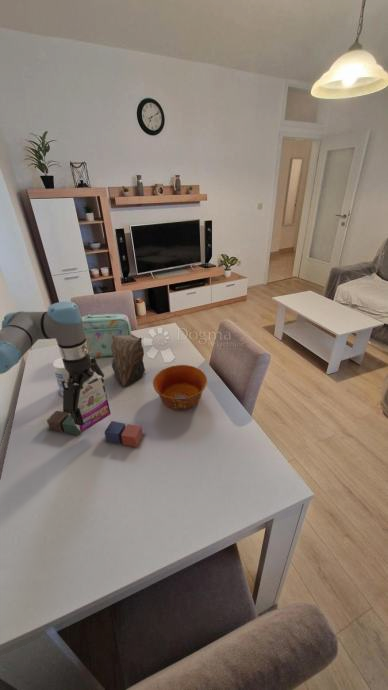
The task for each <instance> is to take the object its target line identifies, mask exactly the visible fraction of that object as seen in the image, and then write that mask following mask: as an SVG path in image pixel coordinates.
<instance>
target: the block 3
mask: <svg viewBox="0 0 388 690" xmlns="http://www.w3.org/2000/svg"><path fill="white" fill-rule="evenodd" d="M126 426H127V425H126V423H124V422H118V421H114V420H111V421H110V423H109V424H108V426H107V427H106V428H105V430H104V436H105V441H106V442H110V443H113V444H118V445H119V444H121V443H122V437H121V435H122V433H123V431H124V430H125V428H126Z"/></svg>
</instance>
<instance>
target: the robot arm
mask: <svg viewBox="0 0 388 690" xmlns="http://www.w3.org/2000/svg"><path fill="white" fill-rule="evenodd" d="M82 317H83V316H82V315H81V312H80V308H79V306H78V304H77V303H75V302H74V301H65V300H64V301H61V302H59V301H58V302H55V303H52V304H51V305H49V306H48V307H47V311H15V312H9V313H7V314H6V315H4V316H3V320H2V321H1V329H0V375H3V374H5V373H7V372H9V371H10V370H11V369H12V368H13V367H14V366H16V365H17V364H18V363H19V362H20V360H21V359H22V358H23V357H24V355H25V354H27V352H28V351H29V350H30V349H31V348H32V346H34V345H35V344H36V342H37V341H39V340H54V339H55V340H56V342H57V346H58V351H59V354H60V358H61V357H62V360H63V364H64V367H65V369H66V370H67V371H68V373H69V379H68V380H67V381H62V386H63V395H62V412H63V413H67V414H69V415H71V418H72V419H73V420H74V423H75V424H76V425H81V426H83V425H84V423H83V419H82V416H81V412H80V409H79V408H77V407H78V401H79V395H80V389H81V388H82V386H83V383H84V381H85V380H86V379H87V378H88V376H93V372H94V371H95V372H96V373H98V374H99V375H100V376H102V379H103V383H104V382H105V380H104V377H105V374H104V372H103V371H102V369H101V367H100V366H99V364H98V363H97V359H96V358H90V353H89V350H88V346H87V342H86V337H85V332H84V327H83V323H82ZM74 383H76V384H79V385H74ZM73 390H74V393H73Z"/></svg>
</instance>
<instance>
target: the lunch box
mask: <svg viewBox="0 0 388 690" xmlns="http://www.w3.org/2000/svg"><path fill="white" fill-rule="evenodd" d="M81 317H82V323H83V327H84V332H85V337H86V342H87V346H88V350H89V353H90V358H95V359H96V358H104V357H114V356H113V354H112V350H111V345H112V343H113V339H112V336H115V335H119V336H123V335H130V334H132V328H131V322H130V318H129V317H128V316H127V314H123V313H104V314H90V313H89V314H87V315H85V316H81Z"/></svg>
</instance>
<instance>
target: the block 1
mask: <svg viewBox="0 0 388 690" xmlns="http://www.w3.org/2000/svg"><path fill="white" fill-rule="evenodd" d="M69 415H70V414H67V413H63V411H60V410H55V411H54V412H53V413H52V414H51V415H50V416H49V418H48V419H47V420H46V422H47V425H48V428H49V430H50V431H54V432H60V433H63V432H65V431H64V428H63V425H62V423H63V422H64V421H65V419H66V418H67V417H68V416H69Z"/></svg>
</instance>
